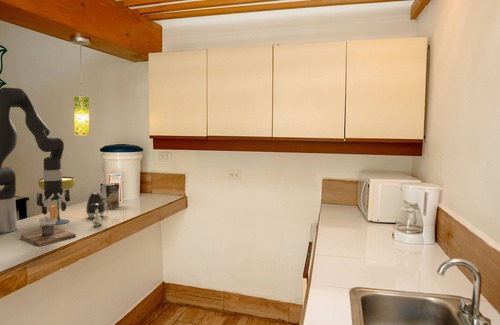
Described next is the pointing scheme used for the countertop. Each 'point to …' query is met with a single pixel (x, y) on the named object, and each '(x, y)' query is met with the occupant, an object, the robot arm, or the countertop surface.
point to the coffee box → (110, 196)
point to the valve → (97, 215)
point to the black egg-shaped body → (92, 199)
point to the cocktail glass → (66, 184)
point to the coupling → (49, 217)
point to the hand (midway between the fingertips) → (54, 212)
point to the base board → (47, 236)
